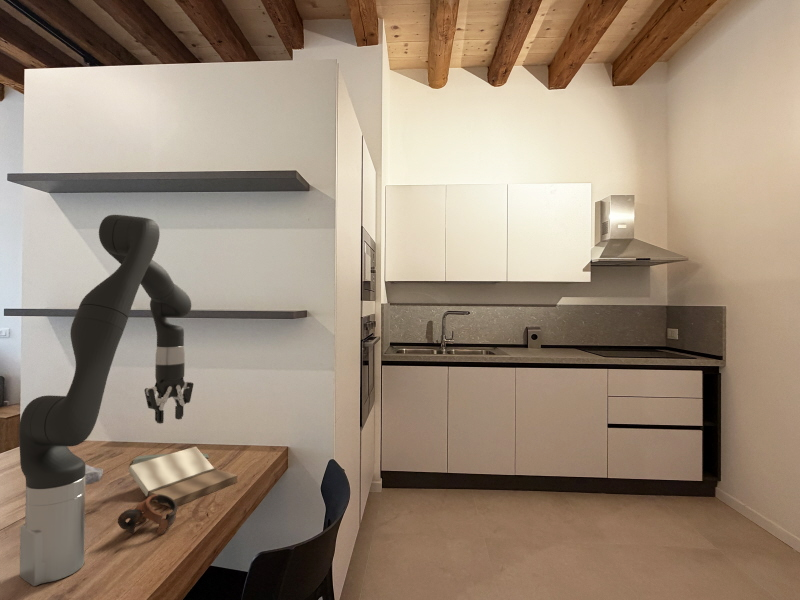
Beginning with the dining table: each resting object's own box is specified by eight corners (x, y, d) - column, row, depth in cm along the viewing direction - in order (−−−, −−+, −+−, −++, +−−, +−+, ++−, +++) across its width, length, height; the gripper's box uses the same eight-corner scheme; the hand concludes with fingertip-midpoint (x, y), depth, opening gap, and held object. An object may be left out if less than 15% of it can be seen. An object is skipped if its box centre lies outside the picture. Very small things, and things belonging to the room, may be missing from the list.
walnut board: (172, 508, 116) (172, 499, 116) (149, 499, 121) (149, 491, 121) (237, 482, 133) (237, 474, 133) (214, 475, 139) (214, 468, 139)
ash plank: (146, 496, 122) (148, 490, 122) (128, 471, 126) (130, 465, 126) (211, 473, 139) (214, 468, 139) (193, 451, 144) (195, 446, 143)
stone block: (83, 478, 141) (47, 482, 132) (87, 461, 142) (51, 464, 133) (106, 486, 135) (70, 492, 127) (110, 469, 136) (74, 473, 128)
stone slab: (134, 464, 152) (131, 469, 143) (135, 455, 153) (131, 460, 144) (208, 456, 162) (209, 461, 153) (208, 448, 162) (209, 452, 153)
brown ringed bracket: (154, 517, 112) (171, 488, 112) (170, 546, 107) (188, 516, 107) (103, 524, 102) (121, 492, 102) (118, 556, 97) (137, 523, 97)
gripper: (153, 365, 126) (153, 428, 126) (200, 360, 138) (199, 417, 138) (137, 363, 130) (137, 424, 129) (184, 358, 142) (184, 414, 142)
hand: (169, 420), depth 134 cm, fingers open, 5 cm apart
